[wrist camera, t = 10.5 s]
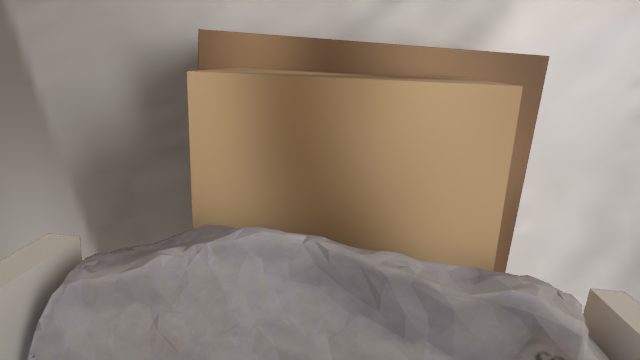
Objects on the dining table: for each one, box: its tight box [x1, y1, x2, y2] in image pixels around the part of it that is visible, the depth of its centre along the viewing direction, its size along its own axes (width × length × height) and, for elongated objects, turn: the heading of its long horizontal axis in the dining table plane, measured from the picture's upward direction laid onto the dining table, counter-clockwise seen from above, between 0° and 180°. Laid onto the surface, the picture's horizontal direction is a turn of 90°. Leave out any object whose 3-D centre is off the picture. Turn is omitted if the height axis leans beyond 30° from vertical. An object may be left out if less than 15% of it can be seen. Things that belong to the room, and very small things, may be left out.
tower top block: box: [187, 68, 523, 271], centre depth 14 cm, size 8×10×5 cm
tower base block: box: [198, 29, 549, 273], centre depth 19 cm, size 12×12×5 cm
